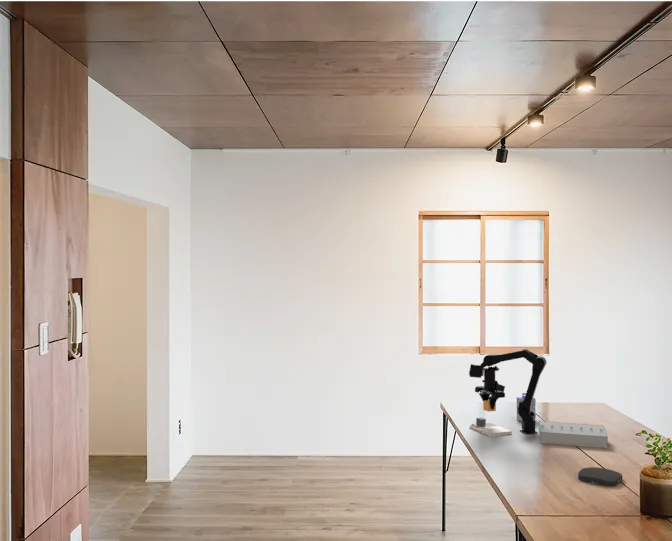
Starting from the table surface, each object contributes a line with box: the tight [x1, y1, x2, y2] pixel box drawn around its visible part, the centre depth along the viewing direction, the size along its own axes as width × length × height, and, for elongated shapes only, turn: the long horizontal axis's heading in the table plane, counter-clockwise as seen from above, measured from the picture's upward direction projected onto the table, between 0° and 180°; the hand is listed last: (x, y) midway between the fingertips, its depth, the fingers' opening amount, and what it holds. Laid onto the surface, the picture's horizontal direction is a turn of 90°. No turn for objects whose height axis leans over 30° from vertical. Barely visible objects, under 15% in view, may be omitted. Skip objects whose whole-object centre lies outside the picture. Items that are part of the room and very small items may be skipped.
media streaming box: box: [577, 466, 623, 487], centre depth 252 cm, size 15×15×3 cm
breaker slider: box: [475, 417, 487, 426], centre depth 331 cm, size 4×3×4 cm
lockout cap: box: [482, 400, 497, 413], centre depth 333 cm, size 4×4×5 cm
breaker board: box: [469, 422, 513, 438], centre depth 326 cm, size 18×13×2 cm
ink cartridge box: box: [516, 392, 537, 422], centre depth 350 cm, size 10×6×14 cm, turn 81°
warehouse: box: [538, 420, 609, 448], centre depth 307 cm, size 30×14×8 cm, turn 74°
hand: (489, 408), depth 333 cm, fingers closed on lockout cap, 4 cm apart
